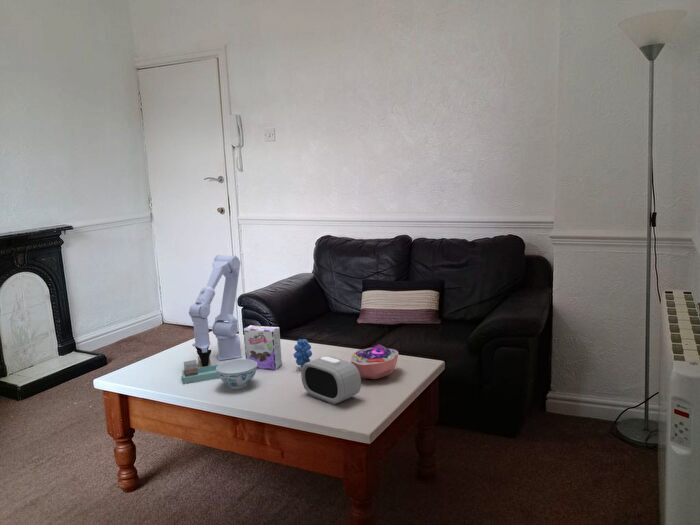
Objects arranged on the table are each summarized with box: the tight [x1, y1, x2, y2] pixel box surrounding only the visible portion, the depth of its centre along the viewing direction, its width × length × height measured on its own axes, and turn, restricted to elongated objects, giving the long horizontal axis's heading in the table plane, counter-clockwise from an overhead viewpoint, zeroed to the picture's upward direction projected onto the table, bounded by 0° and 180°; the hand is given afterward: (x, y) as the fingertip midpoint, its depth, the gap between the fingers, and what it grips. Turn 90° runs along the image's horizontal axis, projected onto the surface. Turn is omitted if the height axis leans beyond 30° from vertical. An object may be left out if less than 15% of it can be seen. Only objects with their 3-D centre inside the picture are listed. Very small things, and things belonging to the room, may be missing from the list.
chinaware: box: [216, 358, 258, 390], centre depth 213 cm, size 15×15×8 cm
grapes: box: [293, 338, 313, 368], centre depth 229 cm, size 12×7×12 cm, turn 155°
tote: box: [181, 363, 220, 385], centre depth 225 cm, size 15×9×2 cm, turn 110°
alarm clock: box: [300, 355, 362, 405], centre depth 198 cm, size 21×10×13 cm, turn 45°
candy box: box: [242, 324, 283, 371], centre depth 232 cm, size 14×6×16 cm, turn 68°
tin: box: [183, 359, 199, 377], centre depth 223 cm, size 5×5×6 cm
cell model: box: [350, 344, 399, 380], centre depth 215 cm, size 17×20×11 cm
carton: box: [197, 355, 212, 368], centre depth 235 cm, size 5×5×5 cm
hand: (204, 364), depth 235 cm, fingers open, 5 cm apart
